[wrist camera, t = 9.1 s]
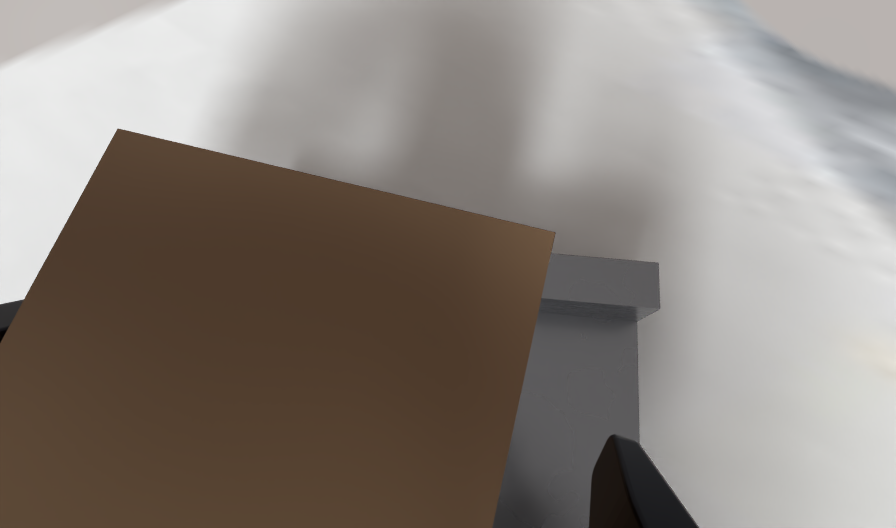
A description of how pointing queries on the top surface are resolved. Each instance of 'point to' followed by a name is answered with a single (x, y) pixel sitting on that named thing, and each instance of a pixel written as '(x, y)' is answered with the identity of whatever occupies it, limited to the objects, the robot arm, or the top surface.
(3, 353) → the walnut block
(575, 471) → the bottom track
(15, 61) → the top surface
